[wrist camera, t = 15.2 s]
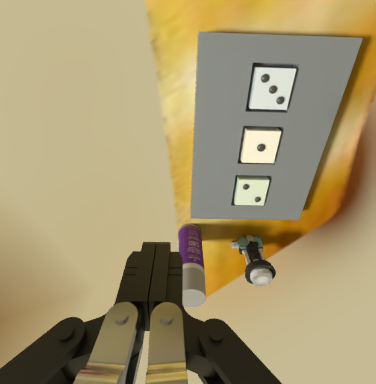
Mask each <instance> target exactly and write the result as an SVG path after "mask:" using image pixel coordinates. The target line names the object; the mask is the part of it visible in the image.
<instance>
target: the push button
mask: <svg viewBox="0 0 376 384" xmlns="http://www.w3.org/2000/svg"><path fill="white" fill-rule="evenodd" d="M232 243H234V244H232ZM230 245H231V248H236V249H237V248H239V252H240V254H244V256H245V260H246V263H247V267H246V270H245V272H246V273H245V277H246V279H247V281H248V282H249V283H251V284H254V285H256V286H265V285H267V284H269V283H270V282H271V281H272V279H273V278H274V277H275V274H276V272H275V269H274V267H273V266H271V264H270V263H269V262H267V261H266V260H265V257H264V255H263V243H262V240H261V238H260V237H259V236H257V237H252V236H251V235H248V236H246V238H238V241H235V242H230ZM233 246H234V247H233ZM250 261H251V262H250Z"/></svg>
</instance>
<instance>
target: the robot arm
mask: <svg viewBox="0 0 376 384" xmlns="http://www.w3.org/2000/svg"><path fill="white" fill-rule="evenodd" d="M182 299H183V258H182V256H181V254H180V253H179V252H171V251H170V242H143V245H142V249H141V252H136V251H135V252H134V251H133V252H132V254H131V255H130V256H129V257H128V259H127V262H126V266H125V269H124V273H123V276H122V280H121V283H120V287H119V291H118V294H117V298H116V301H115V304H114V306H113V307H111V308H110V309H109V311H108V312H107V313H106V314H105V315H103V316H101V317H99V318H96V319H93V320H90V321H87V322H83V321H82V320H81V319H80V318H77V317H70V318H66V319H64V320H62V321H60V322H59V323H58V324H56V325H55V326H54V327H52V328H51V329H50V330H49V331H47V333H45V334H44V335H42V336H41V337H40V338H38V339H37V340H36V341H35V342H33V343H32V344H31V345H30V346H28V347H27V348H26V349H25V350H23V351H22V352H21V353H20V354H18V355H17V356H16V357H14V358H13V359H12V360H11V361H9V362H8V363H7V364H6V365H4V366H3V367H2V368H1V369H0V384H135V381H136V376H137V372H138V367H139V363H140V358H141V353H142V347H143V346H142V345H143V339H144V332H145V331H150V335H149V354H148V369H147V373H146V382H145V384H188V378H187V369H188V370H190V371H193V372H195V373H197V374H198V376H199V378H200V379H201V381H202V382H203V383H204V384H281V382H280V381H279V380H278V379H277V378H276V377H275V376H274V375H273V374H272V373H271V371H270V370H269V369H268V368H267V367H266V366H265V365H264V364H263V363H262V362H261V361H260V360H259V358H258V357H257V356H256V355H255V354H254V353H253V352H252V351H251V350H250V349H249V348H248V347H247V345H246V344H245V343H244V342H243V341H242V340H241V339H240V338H239V337H238V336H237V335H236V333H235V332H234V331H233V330H232V329H231V328H230V327H229V326H228V325H227V324H226V323H225V322H223V321H222V320H219V319H209V320H206V321H205V322H203V321H200V320H198V319H195V318H193V317H191V316H190V315H189V314H188V313H187V312H186V311H185V309H184V307H183V301H182Z"/></svg>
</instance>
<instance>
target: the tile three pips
mask: <svg viewBox="0 0 376 384" xmlns="http://www.w3.org/2000/svg"><path fill="white" fill-rule="evenodd" d="M295 73H296V69H295V68H282V67H252V73H251V80H250V86H249V93H248V99H247V106H248V107H249V108H250V109H275V110H287V106H288V102H289V98H290V94H291V89H292V85H293V81H294V77H295Z"/></svg>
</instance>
